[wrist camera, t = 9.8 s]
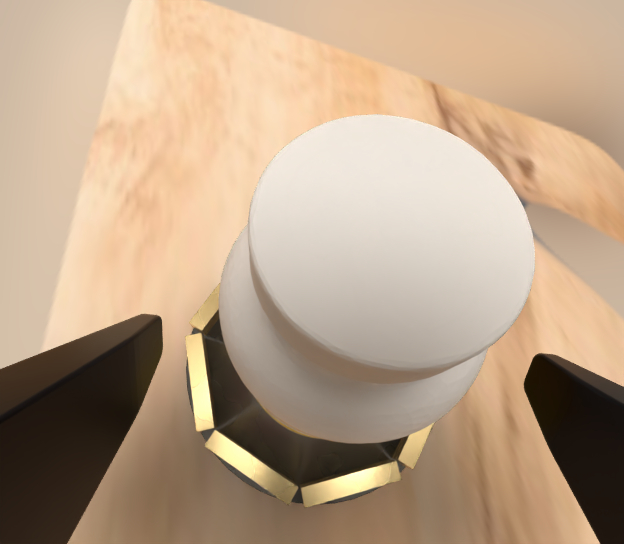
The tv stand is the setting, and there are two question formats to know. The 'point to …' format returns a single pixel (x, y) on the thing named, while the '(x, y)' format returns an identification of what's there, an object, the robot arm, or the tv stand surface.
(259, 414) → the carrier plate
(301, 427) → the supplement bottle
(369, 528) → the tv stand surface
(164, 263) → the tv stand surface
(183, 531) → the tv stand surface
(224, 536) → the tv stand surface
